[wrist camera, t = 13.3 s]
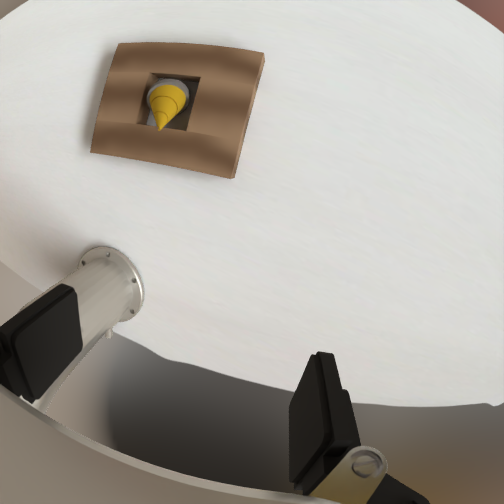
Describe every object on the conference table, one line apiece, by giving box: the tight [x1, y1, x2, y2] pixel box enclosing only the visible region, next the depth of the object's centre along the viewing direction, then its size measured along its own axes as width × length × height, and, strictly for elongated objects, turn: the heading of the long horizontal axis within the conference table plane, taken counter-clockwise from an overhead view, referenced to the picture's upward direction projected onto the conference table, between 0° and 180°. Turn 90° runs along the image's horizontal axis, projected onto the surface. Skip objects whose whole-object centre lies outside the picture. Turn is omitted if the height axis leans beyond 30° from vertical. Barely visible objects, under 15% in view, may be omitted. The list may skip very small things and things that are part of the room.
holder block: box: [90, 42, 265, 179], centre depth 31 cm, size 16×20×3 cm
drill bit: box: [147, 79, 190, 131], centre depth 30 cm, size 5×5×10 cm
